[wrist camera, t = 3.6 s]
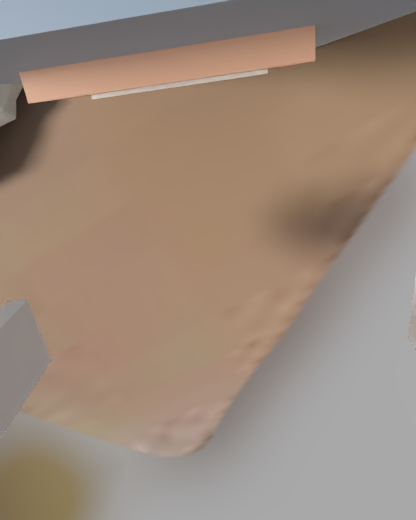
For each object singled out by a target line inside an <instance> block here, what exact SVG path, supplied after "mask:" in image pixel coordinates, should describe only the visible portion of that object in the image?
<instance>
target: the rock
mask: <svg viewBox="0 0 416 520" xmlns="http://www.w3.org/2000/svg"><path fill="white" fill-rule="evenodd" d="M22 88H23V85H22V84H0V127H1V126H3V125H5V124H7V123H9V122H11V121H13V120H15V119H16V100H17V98H18V96H19V94H20V92H21V90H22Z"/></svg>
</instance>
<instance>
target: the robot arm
mask: <svg viewBox="0 0 416 520" xmlns="http://www.w3.org/2000/svg"><path fill="white" fill-rule="evenodd" d="M408 338H409V340H410V341H411V343H412V345H413V346H414V348H415V349H416V279H415V286H414V295H413V302H412V310H411V319H410V327H409V335H408ZM50 362H51V358H50V355H49V353H48V350H47V348H46V345H45V343H44V340H43V338H42V335H41V333H40V330H39V328H38V325H37V323H36V320H35V318H34V315H33V313H32V310H31V308H30V305H29V303H28V300H19V301H7V302H6V303H5V304H4V305H3V306H2V307H1V308H0V439H1V437H2V436H3V434H4V433H5V431H6V430H7V428H8V427H9V425H10V423H11V422H12V420H13V419H14V417H15V416H16V414H17V413H18V411H19V410H20V408H21V407H22V405H23V403H24V402H25V400H26V399H27V397H28V396H29V394H30V393H31V391H32V390H33V388H34V387H35V385H36V383H37V382H38V380H39V379H40V377H41V376H42V374H43V373H44V371H45V370H46V368H47V366H48V365H49V363H50Z"/></svg>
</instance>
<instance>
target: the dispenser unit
mask: <svg viewBox="0 0 416 520" xmlns="http://www.w3.org/2000/svg"><path fill="white" fill-rule="evenodd" d="M413 12H416V0H0V84H22V85H23V88H24V91H25V94H26V97H27V100H28V104H29V103H37V102H45V101H53V100H60V99H68V98H76V97H84V96H91V98H92V99H97V98H104V97H111V96H118V95H124V94H131V93H138V92H145V91H152V90H159V89H165V88H172V87H179V86H186V85H193V84H199V83H206V82H213V81H220V80H227V79H233V78H240V77H247V76H254V75H261V74H267V73H268V69H274V68H280V67H287V66H293V65H298V64H303V63H308V62H313V61H315V48H316V47H319V46H322V45H325V44H327V43H330V42H333V41H336V40H338V39H341V38H344V37H347V36H350V35H352V34H355V33H358V32H361V31H363V30H366V29H369V28H372V27H374V26H377V25H380V24H383V23H386V22H388V21H391V20H394V19H397V18H399V17H402V16H405V15H408V14H410V13H413Z"/></svg>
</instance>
